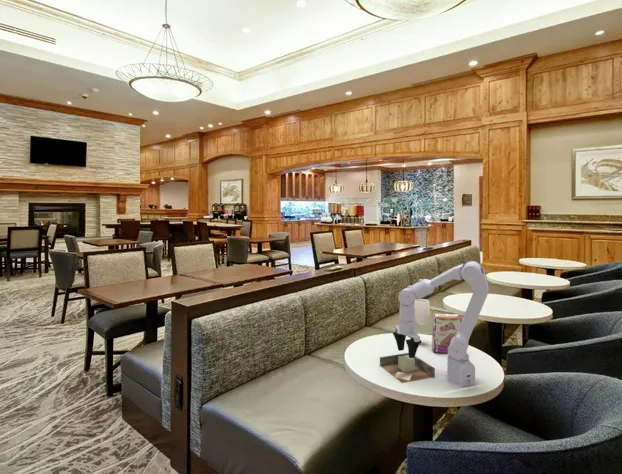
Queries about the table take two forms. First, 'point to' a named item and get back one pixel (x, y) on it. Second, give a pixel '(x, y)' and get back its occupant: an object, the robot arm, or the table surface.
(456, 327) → the candy bar box
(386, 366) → the tray
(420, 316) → the cup
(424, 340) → the table surface
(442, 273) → the robot arm
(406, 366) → the sage cube
